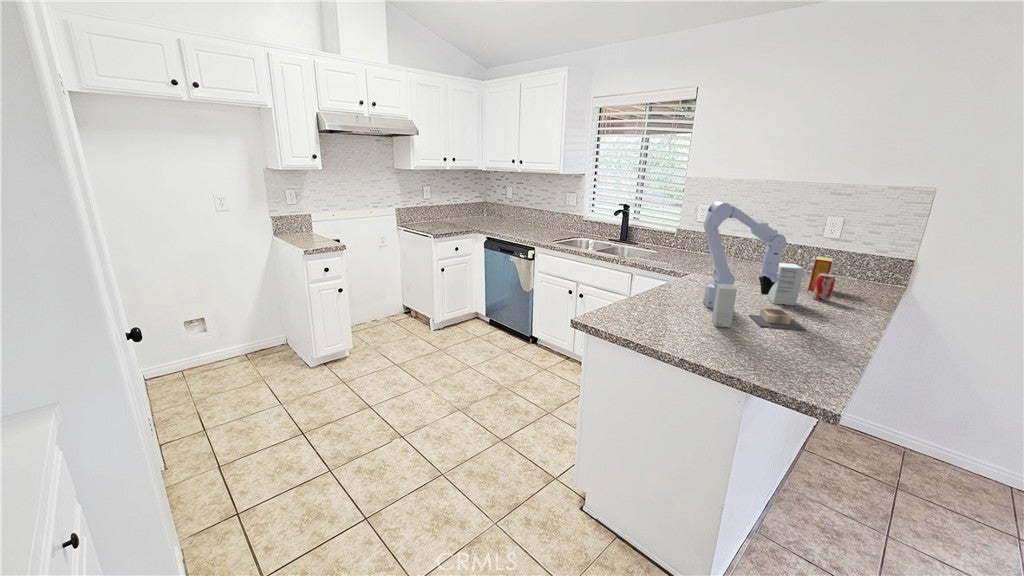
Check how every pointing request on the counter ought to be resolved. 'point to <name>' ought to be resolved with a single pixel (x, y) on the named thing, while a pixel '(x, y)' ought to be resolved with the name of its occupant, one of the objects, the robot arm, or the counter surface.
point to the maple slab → (775, 315)
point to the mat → (763, 323)
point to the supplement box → (786, 284)
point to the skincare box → (724, 305)
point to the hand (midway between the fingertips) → (764, 294)
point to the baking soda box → (820, 269)
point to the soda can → (823, 287)
